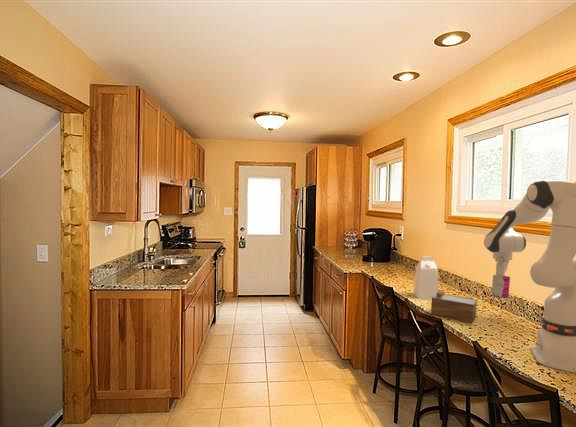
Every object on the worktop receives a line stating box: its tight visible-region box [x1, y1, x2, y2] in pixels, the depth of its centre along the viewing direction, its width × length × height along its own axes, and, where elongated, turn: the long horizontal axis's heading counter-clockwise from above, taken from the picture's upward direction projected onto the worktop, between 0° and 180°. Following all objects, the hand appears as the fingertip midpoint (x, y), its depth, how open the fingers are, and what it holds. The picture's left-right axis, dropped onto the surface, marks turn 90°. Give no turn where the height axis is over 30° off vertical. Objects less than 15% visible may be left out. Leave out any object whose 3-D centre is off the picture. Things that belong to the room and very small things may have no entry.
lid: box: [432, 289, 477, 305], centre depth 189 cm, size 9×20×4 cm, turn 54°
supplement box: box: [491, 274, 511, 299], centre depth 188 cm, size 6×6×12 cm
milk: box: [413, 255, 439, 300], centre depth 226 cm, size 12×12×26 cm
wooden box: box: [430, 294, 478, 324], centre depth 189 cm, size 12×20×9 cm, turn 54°
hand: (501, 281), depth 188 cm, fingers closed on supplement box, 8 cm apart
